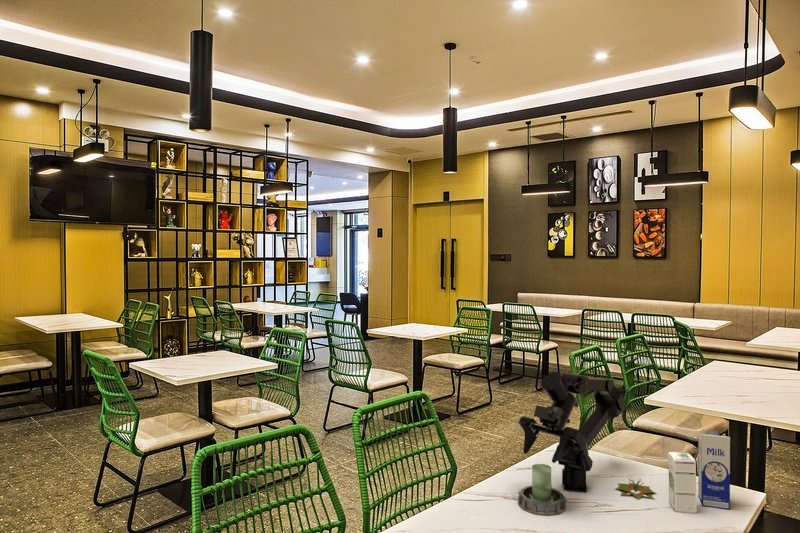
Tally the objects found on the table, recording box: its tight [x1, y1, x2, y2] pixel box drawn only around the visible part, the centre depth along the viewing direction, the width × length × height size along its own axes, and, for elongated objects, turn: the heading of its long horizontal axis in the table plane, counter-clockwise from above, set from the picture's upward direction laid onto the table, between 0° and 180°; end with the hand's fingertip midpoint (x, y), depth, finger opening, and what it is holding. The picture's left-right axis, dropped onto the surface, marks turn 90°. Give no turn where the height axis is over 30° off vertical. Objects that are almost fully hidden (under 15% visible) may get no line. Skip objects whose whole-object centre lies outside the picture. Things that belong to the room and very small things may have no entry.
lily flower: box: [615, 476, 658, 501], centre depth 159 cm, size 12×12×5 cm
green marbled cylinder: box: [529, 463, 554, 502], centre depth 151 cm, size 7×7×10 cm
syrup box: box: [667, 451, 698, 514], centre depth 148 cm, size 6×6×14 cm
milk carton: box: [697, 430, 731, 510], centre depth 151 cm, size 7×7×20 cm
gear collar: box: [517, 485, 567, 517], centre depth 151 cm, size 13×13×3 cm
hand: (538, 457), depth 150 cm, fingers open, 9 cm apart
